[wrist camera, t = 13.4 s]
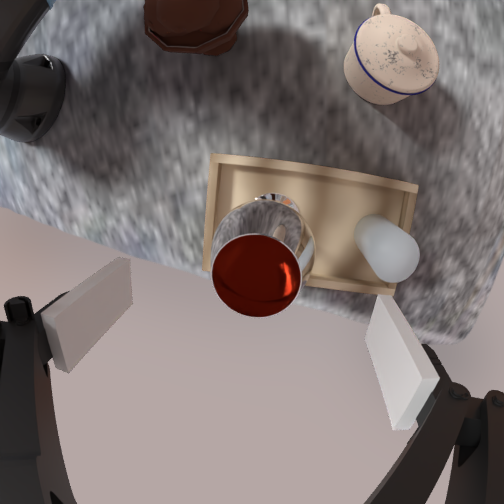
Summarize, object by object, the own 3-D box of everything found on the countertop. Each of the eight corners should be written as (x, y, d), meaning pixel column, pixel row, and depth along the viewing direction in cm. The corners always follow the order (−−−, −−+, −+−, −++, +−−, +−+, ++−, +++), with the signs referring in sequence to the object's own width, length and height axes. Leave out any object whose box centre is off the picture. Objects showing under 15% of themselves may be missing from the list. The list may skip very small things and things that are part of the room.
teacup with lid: (413, 110, 31) (458, 95, 20) (344, 105, 32) (367, 83, 21) (401, 26, 27) (435, -11, 16) (334, 20, 28) (348, -26, 17)
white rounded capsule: (350, 251, 36) (366, 279, 27) (357, 210, 34) (377, 228, 26) (387, 256, 35) (412, 285, 27) (395, 217, 34) (424, 236, 25)
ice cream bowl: (274, 20, 29) (263, -46, 15) (228, 88, 33) (189, 50, 19) (204, -6, 29) (164, -65, 15) (160, 59, 32) (97, 21, 18)
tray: (208, 262, 40) (202, 270, 37) (217, 153, 36) (210, 153, 33) (386, 287, 38) (393, 296, 35) (409, 182, 34) (418, 185, 31)
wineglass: (306, 253, 37) (317, 335, 20) (239, 252, 38) (198, 330, 21) (308, 185, 34) (325, 213, 17) (237, 185, 35) (187, 213, 18)
